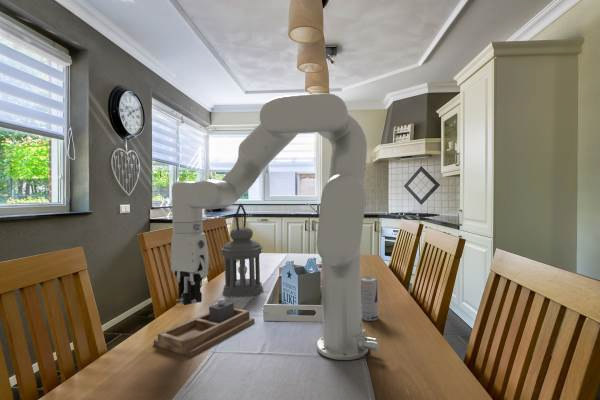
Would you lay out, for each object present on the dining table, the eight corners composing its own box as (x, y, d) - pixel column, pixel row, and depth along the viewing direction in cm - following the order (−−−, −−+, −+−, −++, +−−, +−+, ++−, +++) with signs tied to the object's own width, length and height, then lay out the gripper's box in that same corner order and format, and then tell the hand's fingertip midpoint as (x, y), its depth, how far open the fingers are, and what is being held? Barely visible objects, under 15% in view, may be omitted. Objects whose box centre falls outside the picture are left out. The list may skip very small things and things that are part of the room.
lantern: (261, 297, 125) (258, 203, 124) (216, 298, 125) (214, 204, 125) (266, 284, 142) (264, 202, 141) (227, 285, 142) (224, 203, 142)
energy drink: (379, 316, 103) (378, 277, 103) (375, 322, 98) (375, 281, 98) (362, 314, 105) (361, 276, 105) (358, 320, 100) (357, 280, 100)
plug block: (234, 319, 100) (233, 297, 100) (219, 326, 95) (218, 303, 95) (224, 317, 102) (223, 295, 102) (209, 324, 97) (208, 301, 97)
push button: (180, 308, 85) (179, 269, 84) (172, 303, 89) (172, 265, 88) (205, 302, 89) (204, 265, 89) (197, 298, 93) (196, 262, 93)
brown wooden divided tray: (254, 322, 100) (254, 312, 100) (190, 357, 80) (190, 343, 80) (220, 314, 107) (219, 305, 107) (153, 344, 87) (153, 332, 87)
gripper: (221, 228, 87) (222, 298, 87) (178, 226, 96) (180, 289, 96) (198, 231, 81) (200, 306, 81) (155, 228, 89) (157, 297, 90)
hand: (189, 296), depth 88 cm, fingers closed on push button, 3 cm apart
